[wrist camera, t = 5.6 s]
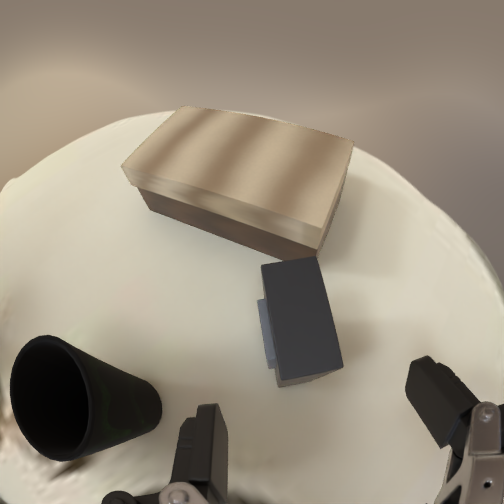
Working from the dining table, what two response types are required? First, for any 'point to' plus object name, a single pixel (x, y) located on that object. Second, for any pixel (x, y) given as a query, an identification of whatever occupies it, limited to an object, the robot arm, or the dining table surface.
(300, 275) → the dark grey rectangular block
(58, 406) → the cup
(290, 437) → the dining table surface
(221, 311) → the dining table surface
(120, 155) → the dining table surface
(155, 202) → the lidded shoe box
